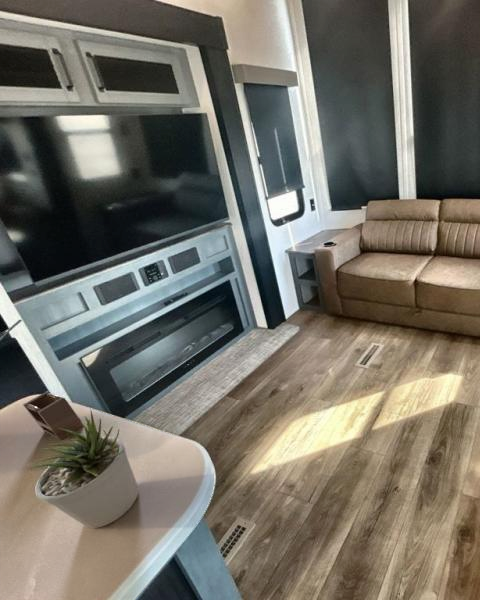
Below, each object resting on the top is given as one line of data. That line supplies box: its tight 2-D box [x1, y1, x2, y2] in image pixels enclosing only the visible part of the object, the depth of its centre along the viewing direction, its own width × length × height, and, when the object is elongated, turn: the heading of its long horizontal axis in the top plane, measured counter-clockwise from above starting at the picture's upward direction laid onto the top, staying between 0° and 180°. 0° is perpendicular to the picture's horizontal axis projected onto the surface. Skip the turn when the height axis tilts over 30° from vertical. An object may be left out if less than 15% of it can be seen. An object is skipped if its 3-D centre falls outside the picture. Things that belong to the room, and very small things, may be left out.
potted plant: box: [28, 409, 139, 529], centre depth 64 cm, size 13×14×20 cm
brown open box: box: [22, 390, 83, 441], centre depth 87 cm, size 8×5×9 cm, turn 65°
